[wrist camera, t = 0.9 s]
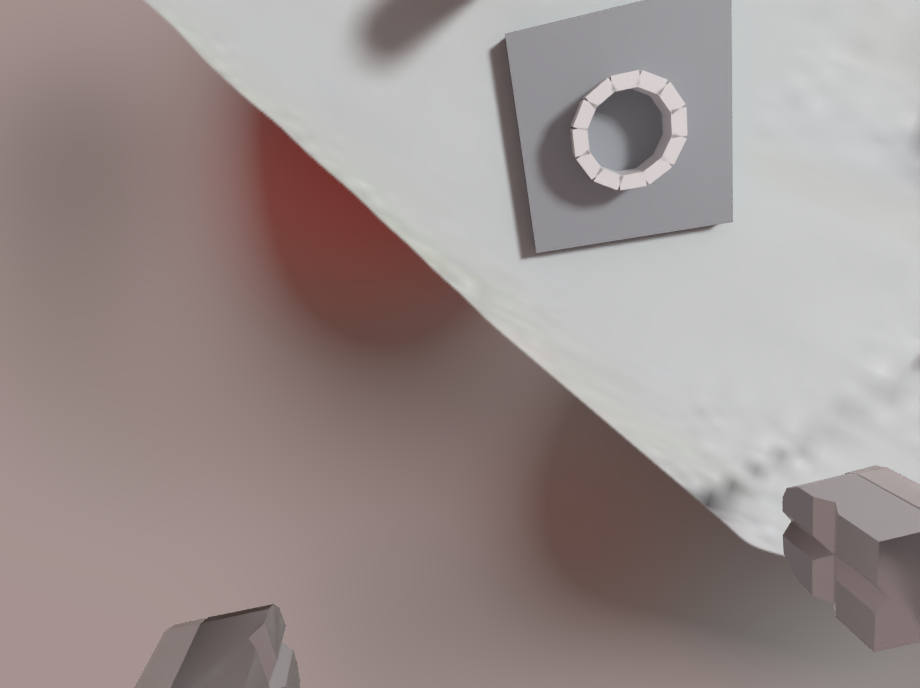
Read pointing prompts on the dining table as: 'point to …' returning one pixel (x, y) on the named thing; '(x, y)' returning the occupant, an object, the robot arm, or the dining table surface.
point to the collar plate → (626, 121)
